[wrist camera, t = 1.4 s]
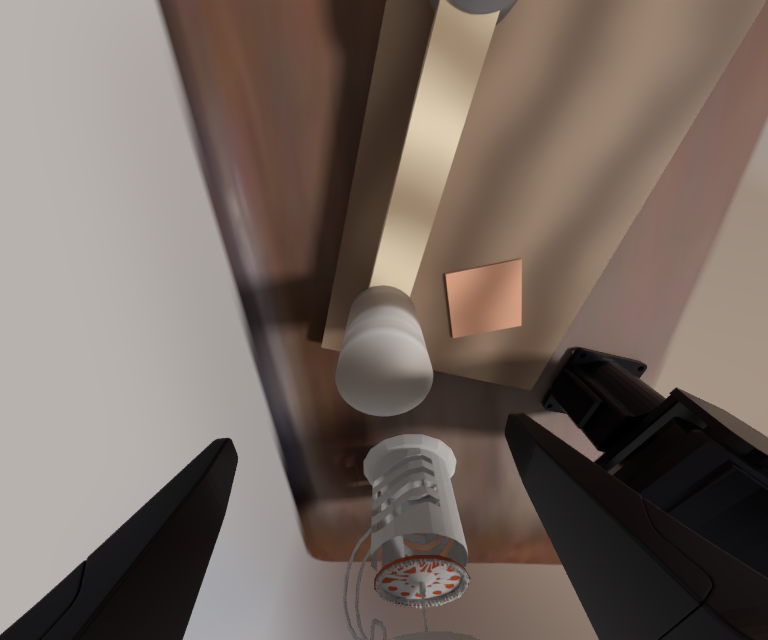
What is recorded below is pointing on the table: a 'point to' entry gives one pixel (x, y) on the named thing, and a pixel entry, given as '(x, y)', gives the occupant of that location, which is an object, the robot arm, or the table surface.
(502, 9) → the grey-ended beige bar
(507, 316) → the board
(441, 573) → the french press
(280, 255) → the table surface
